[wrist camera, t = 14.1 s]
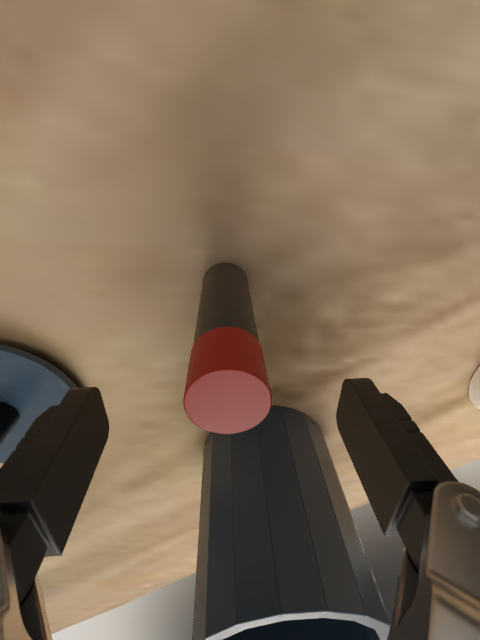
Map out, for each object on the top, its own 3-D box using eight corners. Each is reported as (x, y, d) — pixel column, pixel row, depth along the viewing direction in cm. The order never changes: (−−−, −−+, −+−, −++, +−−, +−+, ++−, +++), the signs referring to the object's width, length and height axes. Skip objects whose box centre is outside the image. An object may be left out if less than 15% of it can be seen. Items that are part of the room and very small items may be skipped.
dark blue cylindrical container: (268, 384, 23) (310, 591, 12) (346, 445, 27) (430, 642, 16) (179, 452, 26) (149, 664, 15) (261, 498, 30) (283, 691, 19)
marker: (224, 251, 18) (226, 352, 9) (257, 283, 19) (289, 401, 10) (192, 284, 19) (164, 406, 10) (225, 312, 20) (228, 446, 11)
